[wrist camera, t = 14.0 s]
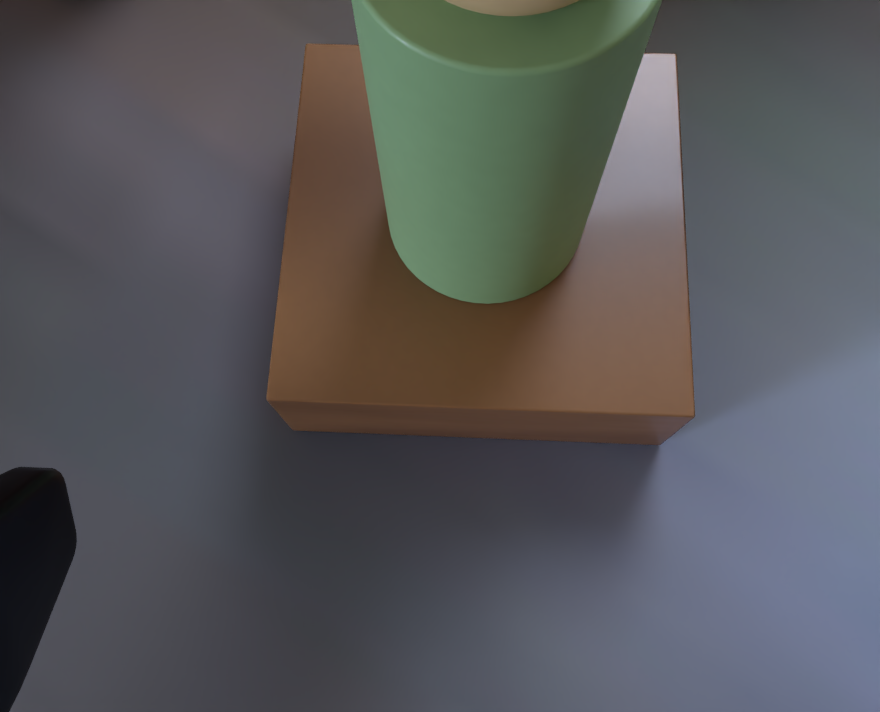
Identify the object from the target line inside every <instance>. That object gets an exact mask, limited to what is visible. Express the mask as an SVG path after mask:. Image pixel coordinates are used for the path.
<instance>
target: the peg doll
mask: <svg viewBox="0 0 880 712" xmlns="http://www.w3.org/2000/svg"><path fill="white" fill-rule="evenodd" d="M661 2H662V0H352V6H353V12H354V18H355V24H356V30H357V36H358V42H359V49H360V55H361V61H362V67H363V73H364V79H365V85H366V91H367V97H368V103H369V109H370V115H371V121H372V127H373V133H374V139H375V146H376V152H377V158H378V164H379V170H380V176H381V182H382V188H383V194H384V200H385V206H386V212H387V218H388V224H389V229H390V234H391V238H392V241H393V243H394V246H395V249H396V250H397V252H398V254H399V256H400V258H401V259H402V261H403V262H404V264H405V265H406V266H407V268H408V269H409V270H410V271H411V272H412V273H413V274H414V275H415V276H416V277H417V278H418V279H419V280H421V281H422V282H423V283H424V284H426V285H427V286H429V287H430V288H432V289H434V290H435V291H437V292H439V293H441V294H444V295H446V296H448V297H451V298H454V299H458V300H461V301H466V302H472V303H484V304H491V303H503V302H508V301H513V300H516V299H519V298H522V297H525V296H528V295H530V294H532V293H534V292H536V291H538V290H540V289H541V288H543V287H544V286H546V285H548V284H549V283H550V282H551V281H553V280H554V279H555V278H556V277H557V276H558V275H559V274H560V273H561V272H562V271H563V270H564V269H565V268H566V266H567V265H568V263H569V262H570V260H571V259H572V257H573V256H574V254H575V252H576V250H577V247H578V245H579V242H580V240H581V237H582V234H583V231H584V228H585V225H586V222H587V219H588V216H589V213H590V210H591V207H592V204H593V201H594V198H595V196H596V193H597V190H598V187H599V184H600V181H601V178H602V175H603V172H604V169H605V166H606V163H607V160H608V157H609V155H610V152H611V149H612V146H613V143H614V140H615V137H616V134H617V131H618V128H619V125H620V122H621V119H622V116H623V113H624V111H625V108H626V105H627V102H628V99H629V96H630V93H631V90H632V87H633V84H634V81H635V78H636V75H637V72H638V69H639V67H640V64H641V61H642V58H643V55H644V52H645V49H646V46H647V43H648V40H649V37H650V34H651V31H652V28H653V25H654V23H655V20H656V17H657V14H658V11H659V8H660V5H661Z"/></svg>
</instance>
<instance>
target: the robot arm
mask: <svg viewBox="0 0 880 712" xmlns="http://www.w3.org/2000/svg"><path fill="white" fill-rule="evenodd" d="M76 542H77V539H76V529H75V524H74V520H73V515H72V511H71V506H70V502H69V497H68V493H67V488H66V484H65V481H64V478H63V476H62V474H61V473H60V472H59V471H57V470H56V469H53V468H34V467H18V468H14V469H11V470H9V471H7V472H5V473H3V474H1V475H0V712H9V711H10V709H11V707H12V705H13V703H14V701H15V699H16V697H17V695H18V693H19V691H20V688H21V686H22V684H23V682H24V679H25V677H26V675H27V672H28V670H29V668H30V665H31V663H32V660H33V658H34V655H35V653H36V650H37V648H38V645H39V643H40V640H41V638H42V635H43V633H44V630H45V628H46V625H47V623H48V620H49V618H50V615H51V612H52V610H53V607H54V605H55V602H56V600H57V597H58V595H59V592H60V590H61V587H62V585H63V582H64V580H65V577H66V575H67V572H68V570H69V567H70V565H71V562H72V560H73V557H74V554H75V549H76Z"/></svg>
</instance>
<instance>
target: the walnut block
mask: <svg viewBox="0 0 880 712" xmlns="http://www.w3.org/2000/svg"><path fill="white" fill-rule="evenodd" d="M266 399H267V401H268V402H269V403H270V404H271V406H272V407H273V408H274V409H275V410H276V411H277V412H278V414H279V415H280V416H281V417H282V418H283V419H284V421H285V422H286V423H287V424H288V425H289V426H290V427H291V429H292V430H296V431H321V432H346V433H371V434H395V435H420V436H445V437H470V438H494V439H519V440H544V441H569V442H593V443H618V444H643V445H661V444H662V443H663V442H664V441H666V440H667V439H668V438H669V437H671V436H672V435H673V434H674V433H675V432H677V431H678V430H679V429H680V428H682V427H683V426H684V425H685V424H686V423H688V422H689V421H690V420H691V419H693V418H694V417H695V406H694V386H693V367H692V347H691V327H690V308H689V288H688V268H687V249H686V229H685V209H684V190H683V170H682V150H681V130H680V111H679V91H678V71H677V55H676V54H671V53H644V55H643V58H642V61H641V64H640V67H639V69H638V72H637V75H636V78H635V81H634V84H633V87H632V90H631V93H630V96H629V99H628V102H627V105H626V108H625V111H624V113H623V116H622V119H621V122H620V125H619V128H618V131H617V134H616V137H615V140H614V143H613V146H612V149H611V152H610V155H609V157H608V160H607V163H606V166H605V169H604V172H603V175H602V178H601V181H600V184H599V187H598V190H597V193H596V196H595V198H594V201H593V204H592V207H591V210H590V213H589V216H588V219H587V222H586V225H585V228H584V231H583V234H582V237H581V240H580V242H579V245H578V247H577V250H576V252H575V254H574V256H573V257H572V259H571V260H570V262H569V263H568V265H567V266H566V268H565V269H564V270H563V271H562V272H561V273H560V274H559V275H558V276H557V277H556V278H555V279H554V280H553V281H551V282H550V283H549V284H548V285H546V286H544V287H543V288H541V289H540V290H538V291H536V292H534V293H532V294H530V295H528V296H525V297H522V298H519V299H516V300H513V301H508V302H503V303H491V304H484V303H472V302H466V301H461V300H458V299H454V298H451V297H448V296H446V295H444V294H441V293H439V292H437V291H435V290H434V289H432V288H430V287H429V286H427V285H426V284H424V283H423V282H422V281H421V280H419V279H418V278H417V277H416V276H415V275H414V274H413V273H412V272H411V271H410V270H409V269H408V268H407V266H406V265H405V264H404V262H403V261H402V259H401V258H400V256H399V254H398V252H397V250H396V249H395V246H394V243H393V241H392V238H391V234H390V229H389V224H388V218H387V212H386V206H385V200H384V194H383V188H382V182H381V176H380V170H379V164H378V158H377V152H376V146H375V139H374V133H373V127H372V121H371V115H370V109H369V103H368V97H367V91H366V85H365V79H364V73H363V67H362V61H361V55H360V49H359V45H341V44H306V47H305V56H304V65H303V74H302V83H301V92H300V101H299V110H298V119H297V128H296V137H295V146H294V155H293V164H292V173H291V182H290V191H289V200H288V208H287V217H286V226H285V235H284V244H283V253H282V262H281V271H280V280H279V289H278V298H277V307H276V316H275V325H274V334H273V343H272V352H271V361H270V370H269V379H268V388H267V397H266Z"/></svg>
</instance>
